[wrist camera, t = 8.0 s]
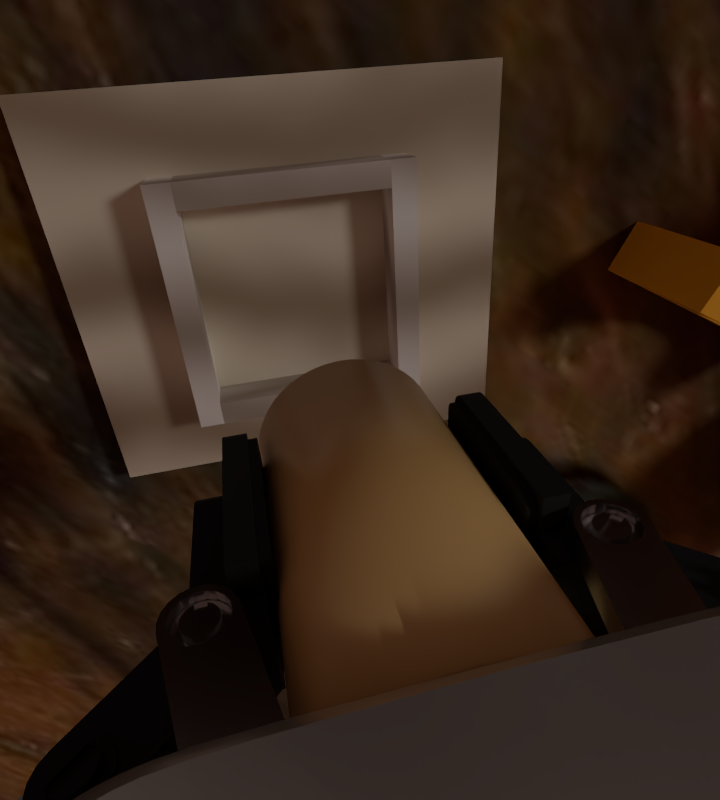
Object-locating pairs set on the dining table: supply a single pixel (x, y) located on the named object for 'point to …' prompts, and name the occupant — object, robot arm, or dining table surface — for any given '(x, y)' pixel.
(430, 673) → the tan rounded oblong piece
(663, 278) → the orange blocky piece
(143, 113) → the grey square framed plate
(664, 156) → the dining table surface
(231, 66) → the dining table surface
